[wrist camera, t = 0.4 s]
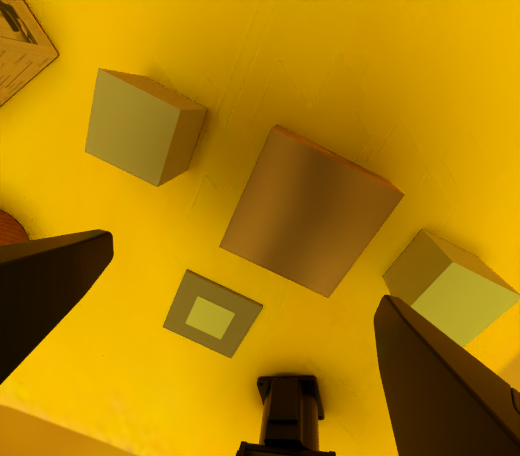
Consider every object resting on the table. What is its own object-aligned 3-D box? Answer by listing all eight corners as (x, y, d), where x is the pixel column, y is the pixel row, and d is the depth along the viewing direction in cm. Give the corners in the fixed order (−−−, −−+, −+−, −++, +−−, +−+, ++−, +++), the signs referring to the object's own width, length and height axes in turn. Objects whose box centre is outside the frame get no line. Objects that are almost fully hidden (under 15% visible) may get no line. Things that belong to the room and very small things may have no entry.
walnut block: (386, 178, 20) (404, 194, 17) (324, 269, 24) (328, 298, 21) (277, 124, 20) (271, 128, 16) (231, 225, 24) (218, 246, 20)
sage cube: (477, 256, 22) (522, 297, 17) (433, 300, 24) (463, 347, 19) (421, 228, 21) (453, 261, 17) (382, 275, 23) (400, 316, 19)
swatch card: (263, 305, 26) (262, 308, 26) (231, 356, 30) (230, 359, 29) (186, 269, 26) (185, 271, 26) (163, 324, 29) (162, 327, 29)
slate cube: (208, 108, 20) (180, 109, 16) (187, 170, 22) (157, 186, 18) (145, 76, 20) (98, 68, 15) (129, 141, 22) (84, 151, 17)
